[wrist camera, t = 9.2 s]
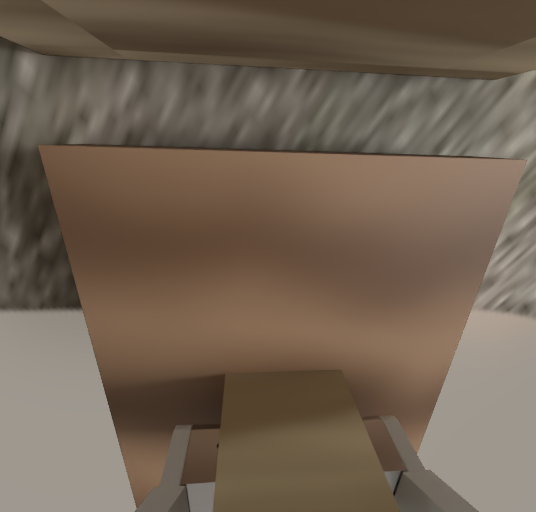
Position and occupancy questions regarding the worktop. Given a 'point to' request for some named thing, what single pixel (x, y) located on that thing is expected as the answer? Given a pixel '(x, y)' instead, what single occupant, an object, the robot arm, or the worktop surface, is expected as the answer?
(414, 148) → the worktop surface
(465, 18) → the birch box
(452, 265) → the cover plate
